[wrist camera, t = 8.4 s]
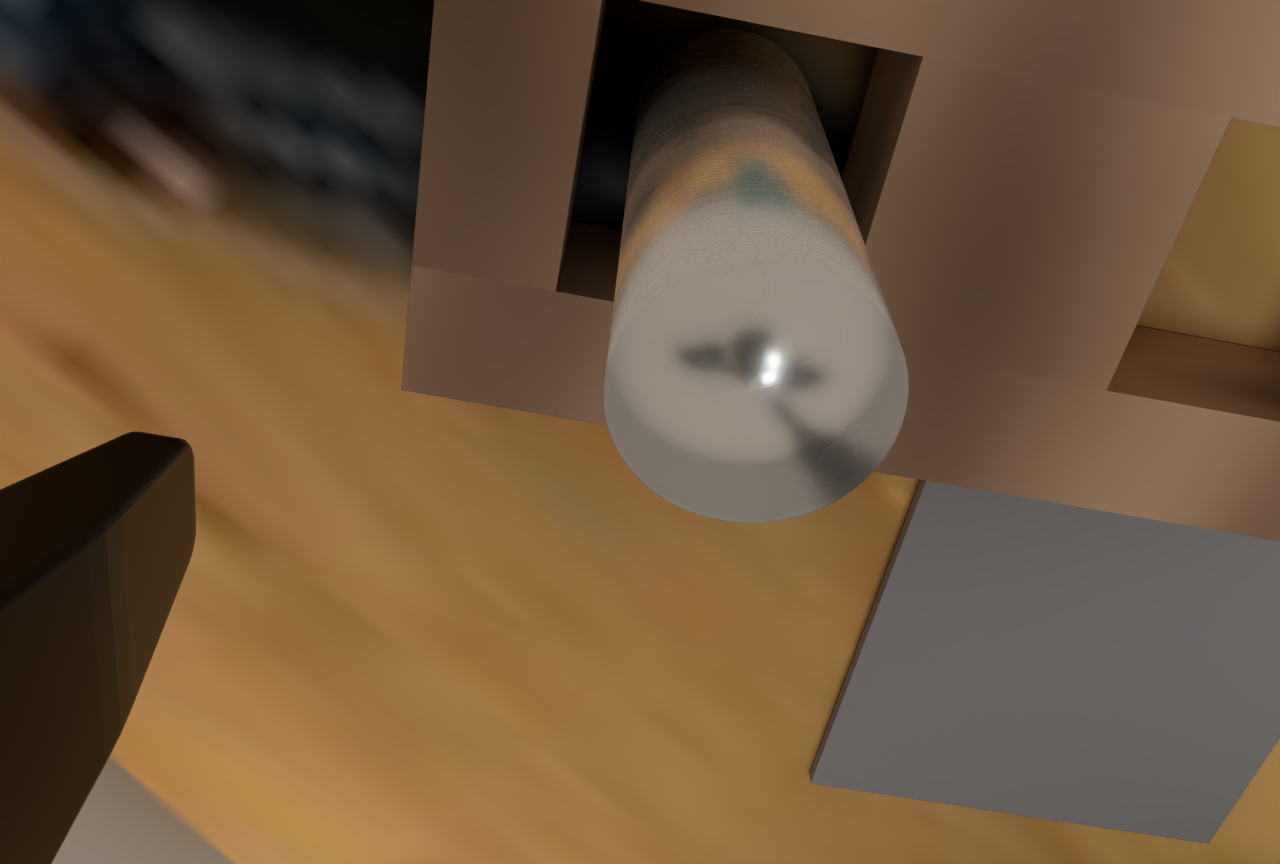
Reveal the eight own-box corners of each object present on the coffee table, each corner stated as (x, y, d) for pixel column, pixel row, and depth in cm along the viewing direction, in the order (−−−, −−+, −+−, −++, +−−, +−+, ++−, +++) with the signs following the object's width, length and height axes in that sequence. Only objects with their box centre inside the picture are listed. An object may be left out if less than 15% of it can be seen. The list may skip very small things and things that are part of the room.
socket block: (1622, 3, 18) (1779, 49, 15) (1339, 471, 23) (1422, 566, 20) (488, -237, 17) (453, -231, 14) (434, 311, 21) (400, 390, 19)
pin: (788, 219, 20) (859, 543, 12) (622, 188, 20) (581, 496, 12) (833, 48, 19) (949, 290, 11) (654, 13, 19) (632, 231, 10)
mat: (1203, 833, 28) (1208, 843, 28) (809, 773, 28) (811, 782, 27) (1420, 508, 23) (1428, 517, 23) (941, 424, 22) (944, 432, 22)
